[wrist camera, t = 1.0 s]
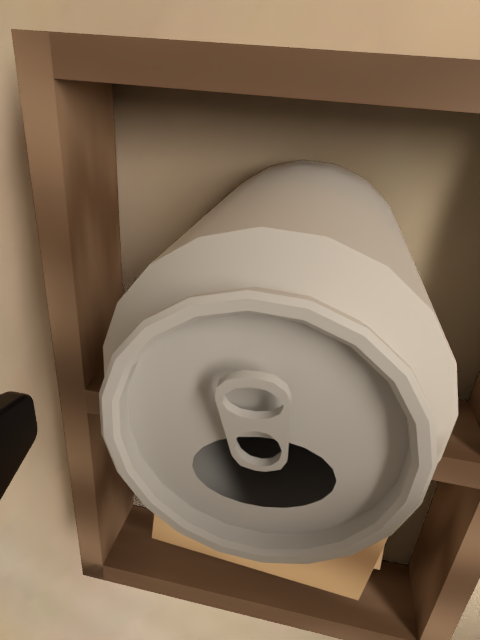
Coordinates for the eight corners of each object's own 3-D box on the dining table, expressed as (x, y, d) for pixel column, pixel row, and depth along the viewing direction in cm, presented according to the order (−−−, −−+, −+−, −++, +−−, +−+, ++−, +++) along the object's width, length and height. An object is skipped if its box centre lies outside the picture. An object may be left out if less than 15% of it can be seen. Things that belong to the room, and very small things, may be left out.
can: (222, 331, 21) (101, 568, 11) (207, 160, 18) (13, 255, 7) (392, 338, 20) (449, 622, 9) (410, 152, 16) (531, 258, 6)
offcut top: (357, 572, 23) (358, 600, 22) (162, 514, 25) (151, 537, 23) (402, 473, 20) (405, 499, 19) (174, 411, 21) (162, 432, 20)
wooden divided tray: (425, 584, 26) (438, 663, 22) (115, 514, 28) (83, 574, 25) (629, 80, 14) (722, 75, 11) (80, 42, 17) (11, 29, 13)
